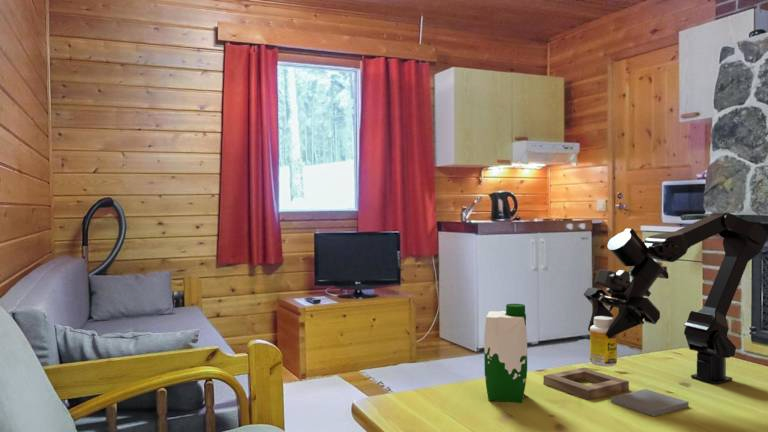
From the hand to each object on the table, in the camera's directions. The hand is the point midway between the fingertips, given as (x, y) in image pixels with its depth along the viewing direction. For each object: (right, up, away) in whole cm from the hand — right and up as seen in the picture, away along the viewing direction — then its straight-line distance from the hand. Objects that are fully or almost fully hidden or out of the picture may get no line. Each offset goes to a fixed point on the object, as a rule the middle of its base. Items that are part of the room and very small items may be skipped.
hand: (598, 333), depth 129 cm
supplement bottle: (+1, -7, +1) cm, 7 cm away
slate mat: (+8, -13, -7) cm, 17 cm away
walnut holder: (-1, -13, +5) cm, 14 cm away
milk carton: (-20, -14, -1) cm, 25 cm away
